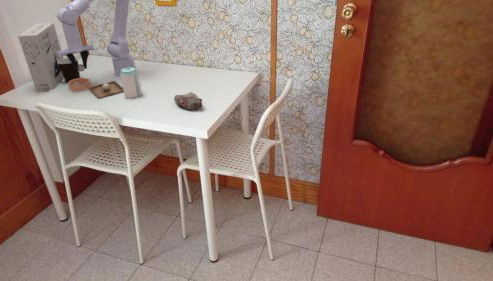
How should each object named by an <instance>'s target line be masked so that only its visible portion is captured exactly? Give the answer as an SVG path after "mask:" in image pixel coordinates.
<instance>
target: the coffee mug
mask: <svg viewBox="0 0 493 281" xmlns="http://www.w3.org/2000/svg"><path fill="white" fill-rule="evenodd" d="M75 60H76V65H77V66H78V65H79V60H78V58H77V57H75ZM58 65H59V67H60V69H61V72H62V74H63V76H64V79H63V80H64V81H65V82H66V83H68V82H69V81H71V80H73V79H77V78H81V75H80V73H81V72H80V71H76V70H75V68H74V66H73V64H72V63H71V61H70V60H69V58H68V57H66V58H64V59H61V60H59V61H58Z"/></svg>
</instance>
